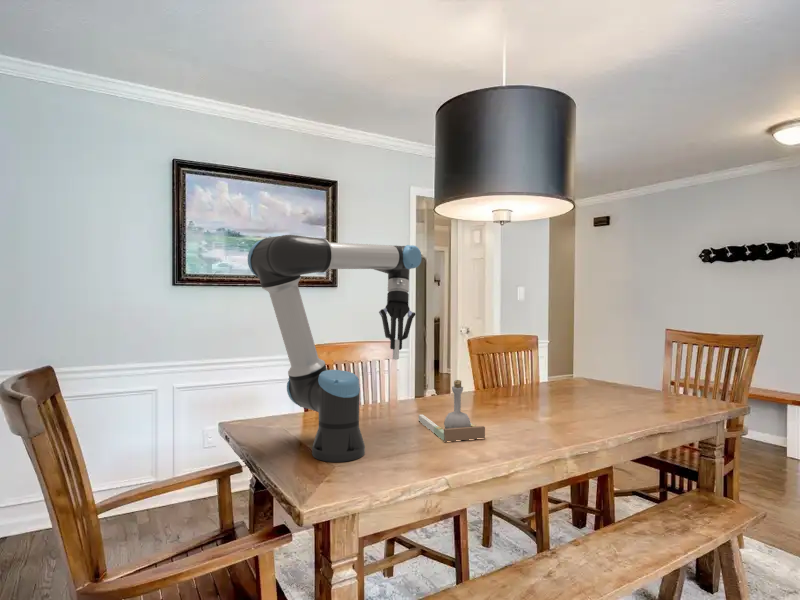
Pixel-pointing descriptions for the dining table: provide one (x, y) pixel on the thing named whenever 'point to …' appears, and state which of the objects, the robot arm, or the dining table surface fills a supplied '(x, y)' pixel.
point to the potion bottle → (457, 410)
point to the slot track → (454, 431)
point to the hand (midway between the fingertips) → (395, 358)
